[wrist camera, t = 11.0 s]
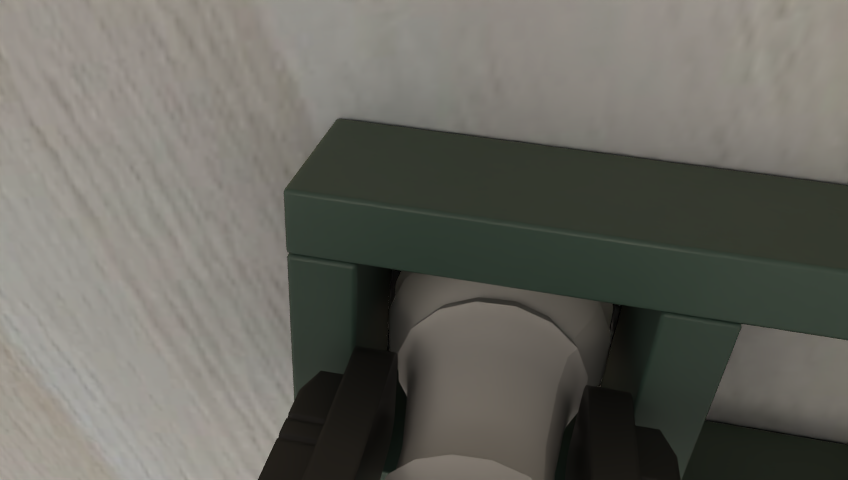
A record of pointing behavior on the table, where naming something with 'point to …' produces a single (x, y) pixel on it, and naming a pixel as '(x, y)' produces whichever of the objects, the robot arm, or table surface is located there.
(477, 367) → the rook chess piece
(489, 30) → the table surface
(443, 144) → the rack
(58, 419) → the table surface
